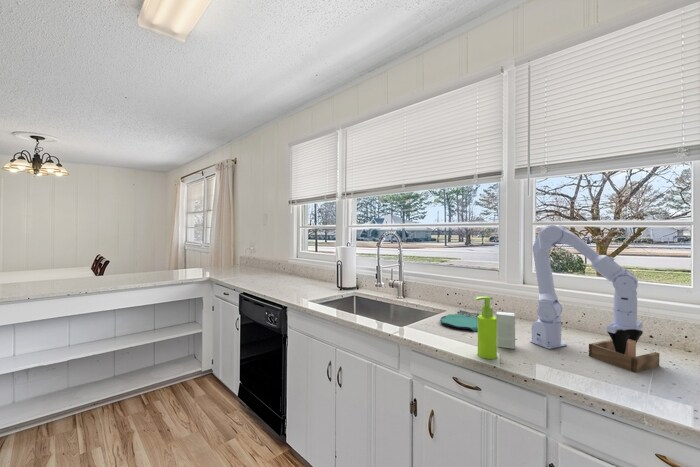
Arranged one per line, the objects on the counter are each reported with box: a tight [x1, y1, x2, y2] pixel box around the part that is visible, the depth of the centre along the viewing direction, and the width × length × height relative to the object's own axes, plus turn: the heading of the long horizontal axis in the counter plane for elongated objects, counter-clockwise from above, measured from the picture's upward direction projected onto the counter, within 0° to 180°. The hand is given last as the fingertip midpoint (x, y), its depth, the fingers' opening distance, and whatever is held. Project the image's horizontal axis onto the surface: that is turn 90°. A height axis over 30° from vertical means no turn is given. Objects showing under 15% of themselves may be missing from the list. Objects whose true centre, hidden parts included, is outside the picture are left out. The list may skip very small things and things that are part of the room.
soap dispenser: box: [474, 295, 498, 360], centre depth 106 cm, size 6×7×20 cm
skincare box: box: [495, 311, 516, 350], centre depth 114 cm, size 6×4×12 cm
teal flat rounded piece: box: [439, 309, 482, 333], centre depth 144 cm, size 20×30×2 cm, turn 142°
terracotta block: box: [614, 339, 637, 357], centre depth 101 cm, size 4×4×6 cm
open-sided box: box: [588, 338, 660, 373], centre depth 101 cm, size 12×13×4 cm
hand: (624, 352), depth 102 cm, fingers closed on terracotta block, 4 cm apart
